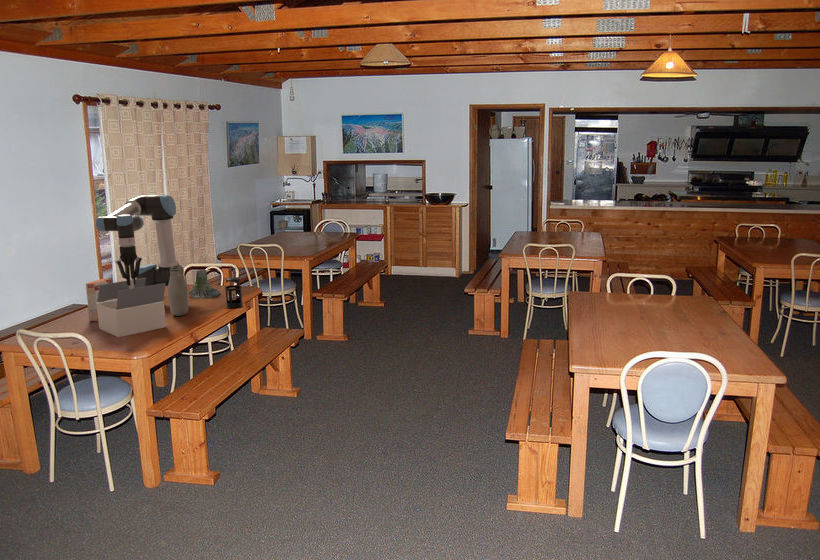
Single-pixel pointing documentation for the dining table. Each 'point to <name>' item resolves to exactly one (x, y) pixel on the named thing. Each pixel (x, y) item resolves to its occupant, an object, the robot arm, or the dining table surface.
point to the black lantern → (233, 303)
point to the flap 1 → (116, 289)
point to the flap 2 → (140, 296)
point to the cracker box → (94, 297)
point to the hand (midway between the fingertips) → (131, 291)
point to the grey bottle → (178, 291)
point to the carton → (130, 318)
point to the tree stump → (203, 287)
